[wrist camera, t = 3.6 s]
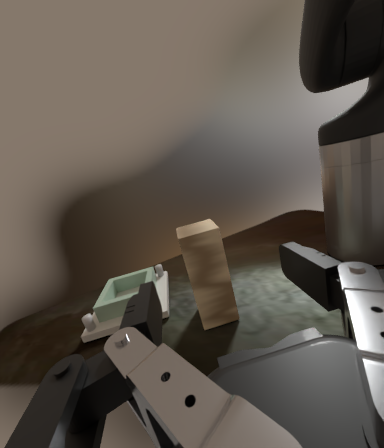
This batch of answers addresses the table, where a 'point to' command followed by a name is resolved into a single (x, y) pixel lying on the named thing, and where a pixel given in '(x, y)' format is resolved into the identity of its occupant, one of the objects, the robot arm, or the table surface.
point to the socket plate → (122, 301)
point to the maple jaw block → (208, 273)
